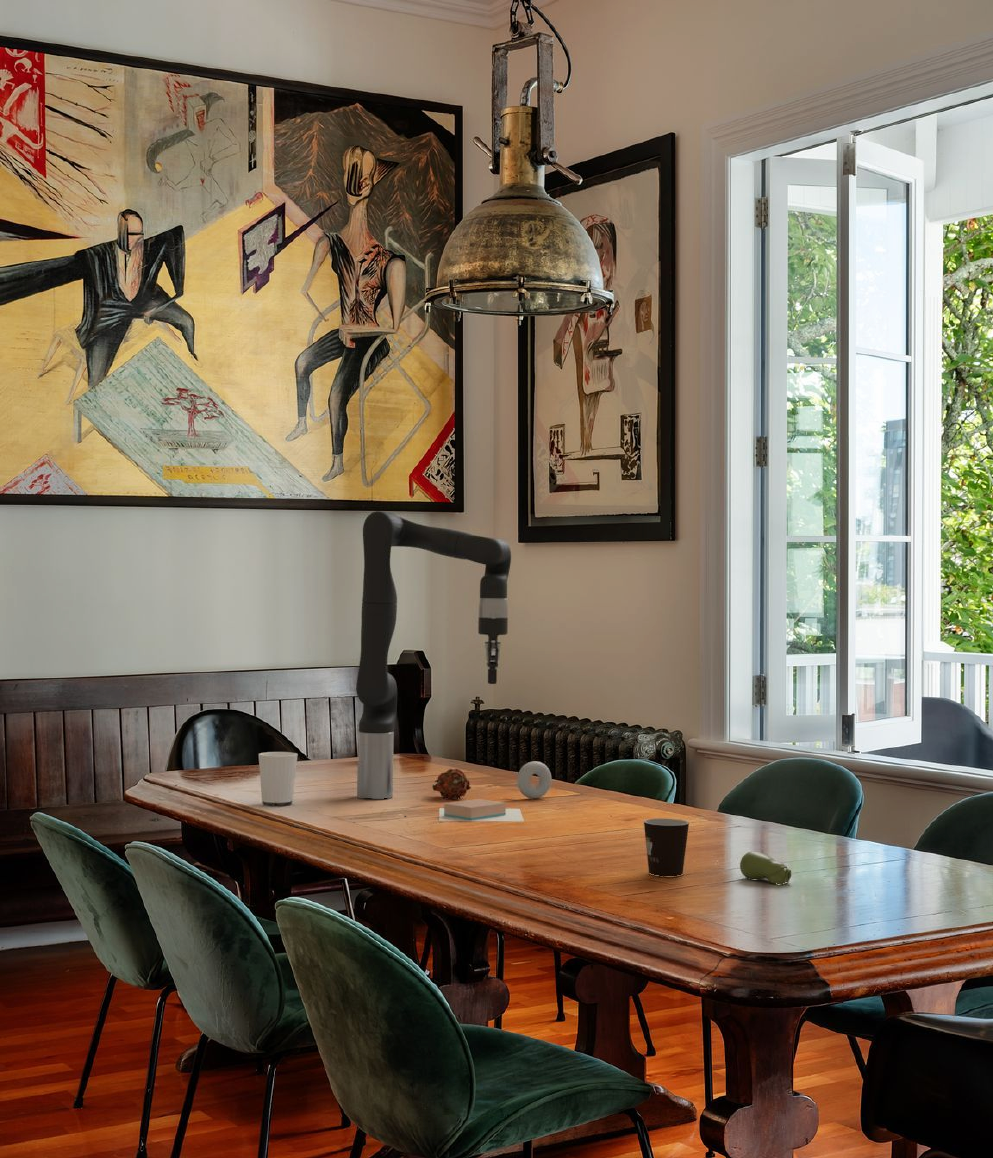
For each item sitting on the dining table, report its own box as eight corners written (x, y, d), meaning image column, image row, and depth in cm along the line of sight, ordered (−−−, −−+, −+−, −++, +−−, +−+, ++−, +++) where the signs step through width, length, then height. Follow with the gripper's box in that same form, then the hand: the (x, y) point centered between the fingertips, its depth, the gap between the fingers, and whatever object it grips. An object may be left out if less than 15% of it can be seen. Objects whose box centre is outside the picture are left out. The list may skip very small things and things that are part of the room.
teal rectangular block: (478, 798, 335) (444, 803, 327) (505, 802, 329) (471, 807, 321) (478, 810, 335) (444, 815, 327) (505, 815, 329) (471, 820, 320)
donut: (547, 797, 365) (548, 759, 365) (553, 798, 362) (554, 761, 362) (514, 798, 360) (514, 761, 360) (520, 800, 357) (520, 762, 357)
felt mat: (439, 822, 320) (439, 820, 320) (439, 809, 339) (439, 807, 340) (524, 822, 320) (524, 821, 320) (519, 810, 340) (519, 808, 340)
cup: (293, 807, 340) (294, 756, 340) (254, 806, 339) (255, 755, 340) (299, 801, 349) (300, 752, 350) (261, 801, 349) (261, 751, 350)
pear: (752, 846, 261) (798, 861, 255) (747, 873, 262) (793, 889, 255) (737, 849, 257) (784, 865, 251) (732, 877, 258) (779, 893, 251)
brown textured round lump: (463, 807, 354) (438, 808, 364) (483, 786, 359) (458, 787, 368) (445, 782, 352) (420, 783, 362) (466, 761, 357) (441, 763, 366)
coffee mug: (687, 879, 256) (688, 826, 256) (641, 877, 258) (642, 824, 258) (689, 868, 268) (690, 817, 268) (645, 865, 269) (646, 815, 269)
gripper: (477, 615, 356) (476, 682, 356) (479, 616, 343) (478, 685, 342) (506, 616, 356) (505, 682, 356) (508, 616, 343) (507, 685, 343)
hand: (492, 683), depth 349 cm, fingers closed
